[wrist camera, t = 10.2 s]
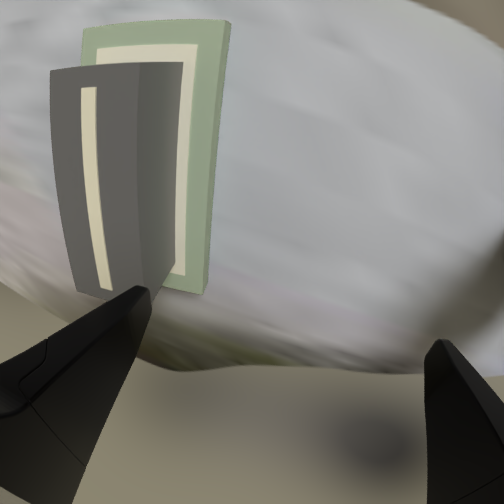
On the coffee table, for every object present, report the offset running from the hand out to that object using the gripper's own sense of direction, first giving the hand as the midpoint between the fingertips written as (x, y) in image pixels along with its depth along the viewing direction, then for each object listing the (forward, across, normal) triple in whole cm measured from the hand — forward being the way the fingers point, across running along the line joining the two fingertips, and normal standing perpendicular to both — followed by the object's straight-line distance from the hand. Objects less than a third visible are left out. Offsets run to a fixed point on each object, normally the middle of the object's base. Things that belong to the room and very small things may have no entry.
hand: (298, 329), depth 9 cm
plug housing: (+10, +10, 0) cm, 14 cm away
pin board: (+12, +10, 0) cm, 16 cm away
